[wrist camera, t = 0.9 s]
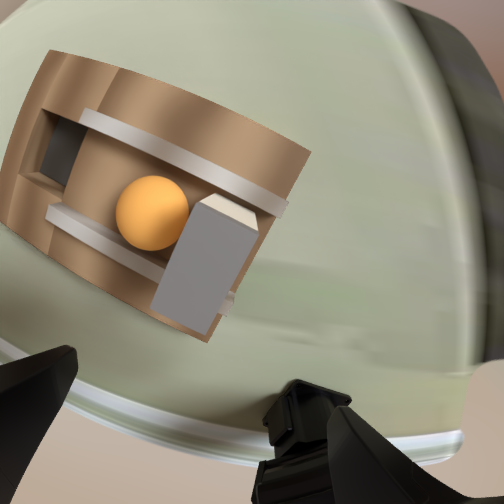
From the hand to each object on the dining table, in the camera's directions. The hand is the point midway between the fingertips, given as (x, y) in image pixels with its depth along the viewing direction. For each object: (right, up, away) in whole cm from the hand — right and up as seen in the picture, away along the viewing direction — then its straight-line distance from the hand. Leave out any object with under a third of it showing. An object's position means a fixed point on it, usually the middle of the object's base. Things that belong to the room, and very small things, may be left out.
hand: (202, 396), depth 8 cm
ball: (-4, +7, +7) cm, 10 cm away
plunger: (0, +5, +9) cm, 10 cm away
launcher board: (-7, +10, +11) cm, 16 cm away
